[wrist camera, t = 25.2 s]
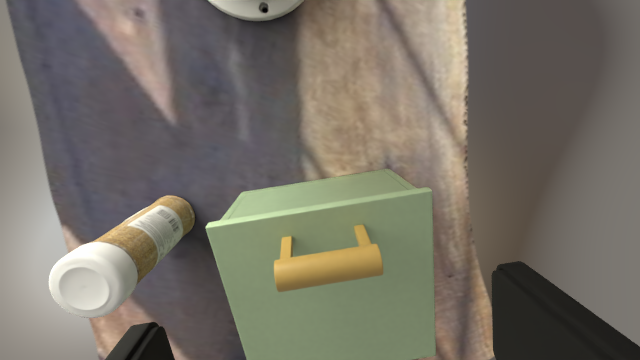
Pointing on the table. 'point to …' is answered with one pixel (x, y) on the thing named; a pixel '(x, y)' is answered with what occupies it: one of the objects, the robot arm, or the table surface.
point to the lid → (332, 279)
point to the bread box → (316, 193)
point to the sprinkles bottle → (119, 259)
